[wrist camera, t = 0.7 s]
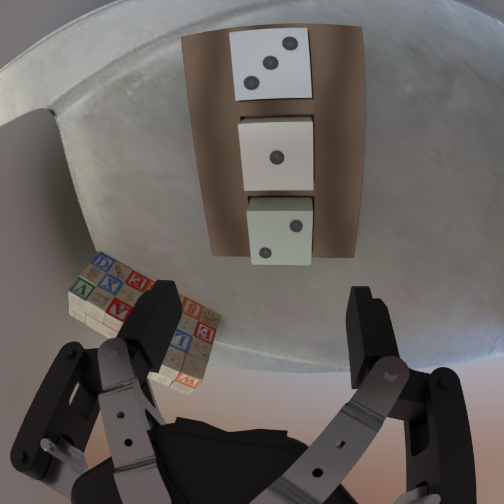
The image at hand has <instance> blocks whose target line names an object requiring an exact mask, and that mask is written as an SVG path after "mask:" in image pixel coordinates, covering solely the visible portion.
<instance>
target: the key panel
mask: <svg viewBox="0 0 504 504" xmlns="http://www.w3.org/2000/svg"><path fill="white" fill-rule="evenodd" d="M275 28H307V31H308V43H309V56H310V71H311V90H312V98H271V99H252V100H239V101H236V100H235V90H234V79H233V69H232V58H231V48H230V38H229V33H230V32H238V31H247V30H259V29H275ZM181 43H182V53H183V62H184V71H185V80H186V88H187V96H188V104H189V112H190V119H191V127H192V134H193V141H194V148H195V154H196V161H197V167H198V174H199V180H200V186H201V193H202V199H203V205H204V210H205V216H206V222H207V228H208V233H209V239H210V244H211V250H212V255H213V256H246V257H251V253H250V243H249V233H248V223H247V213H246V211H247V208H248V205H249V202H250V199H251V197H311V199H312V207H313V227H312V253H311V257H325V258H354V254H355V247H356V239H357V231H358V223H359V214H360V204H361V194H362V181H363V167H364V148H365V64H364V47H363V34H362V27H356V26H346V25H332V24H270V25H255V26H245V27H236V28H228V29H221V30H214V31H208V32H203V33H197V34H192V35H188V36H183V37H181ZM273 117H311V119H312V121H313V190H262V191H244V182H243V172H242V162H241V151H240V141H239V131H238V124H239V123H240V122H241V121H242V120H244V119H251V118H273Z"/></svg>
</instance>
